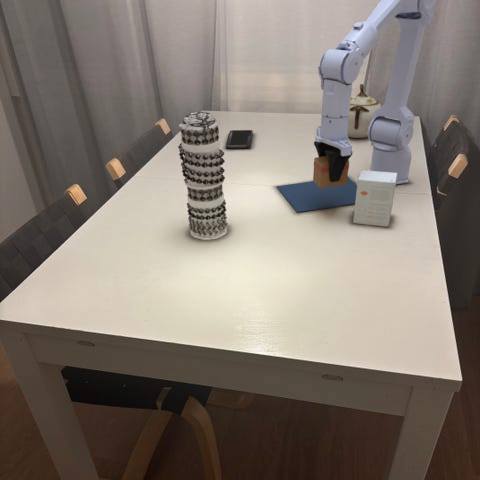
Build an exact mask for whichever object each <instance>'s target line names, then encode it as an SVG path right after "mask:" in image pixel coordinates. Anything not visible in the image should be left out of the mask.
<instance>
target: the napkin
mask: <svg viewBox="0 0 480 480" xmlns="http://www.w3.org/2000/svg"><path fill="white" fill-rule="evenodd" d="M276 188H277V190H278V191H279V192H280V193H281V195H282V196H283V197H284V198H285V200H286V201H287V202H288V204H289V205H290V206H291V207H292V209H293V210H294V211H295V213H296V214H300V213H306V212H311V211H312V212H314V211H319V210H320V211H321V210H325V209H326V210H327V209H332V208H339V207H345V206H346V207H347V206H353V205H355V200H356V191H357V184H356V182H354V181H353V180H352V179H351V178H349V177H347V184H346V185H340V186H333V187H326V188H319V187H318V186H317V185H316V183H315V182H314V181H313V180H310V181H303V182H296V183H288V184H283V185H277V186H276Z"/></svg>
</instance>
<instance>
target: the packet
mask: <svg viewBox="0 0 480 480" xmlns="http://www.w3.org/2000/svg"><path fill="white" fill-rule="evenodd" d="M349 169H350V160H348V161H347V163H346V165H345V167H344V170H343V172H342V175H341V178H340V180H339V181H336V182H331V181H330V178H329V164H328V159H327V156H324V157H319V156H317V157H314V159H313V172H312V173H313V174H312V176H313V177H312V181H314V182H315V183H316V185H317V186H318V187H319V188H326V187H333V186H340V185H346V184H347V177H348V176H349ZM348 178H349V177H348Z"/></svg>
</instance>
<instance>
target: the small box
mask: <svg viewBox="0 0 480 480" xmlns="http://www.w3.org/2000/svg"><path fill="white" fill-rule="evenodd" d="M396 180H397V173H391V172H379V171H370V170H364V169H362V170H360V172H359V175H358V178H357V184H356V185H357V191H356V200H355V204H354V208H353V209H354V210H353V219H352V223H353V224H359V225H366V226H375V227H377V226H378V227H385V228H386V227H387V228H388V227H389V225H390V221H391V216H392V210H393V205H394V199H395V192H396V187H397V186H396V185H397V184H396Z"/></svg>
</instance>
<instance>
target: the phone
mask: <svg viewBox="0 0 480 480" xmlns="http://www.w3.org/2000/svg"><path fill="white" fill-rule="evenodd" d="M253 136H254V131H253V130H252V129H240V130H239V129H232V130H229V133H228V136H227V140H226V142H225V148H226V149H227V150H242V149H243V150H245V149H246V150H247V149H251V147H252V143H253Z"/></svg>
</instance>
